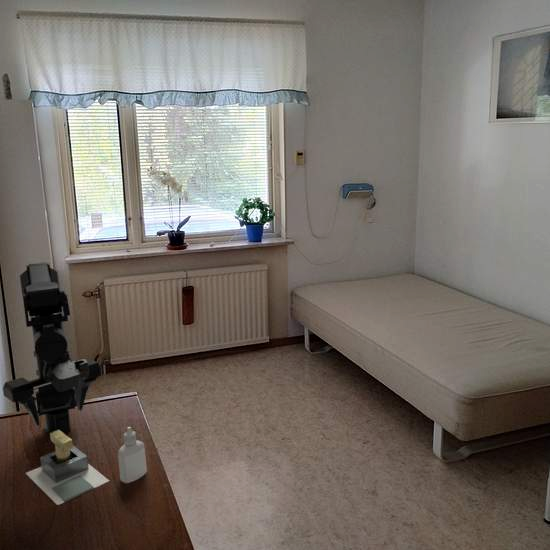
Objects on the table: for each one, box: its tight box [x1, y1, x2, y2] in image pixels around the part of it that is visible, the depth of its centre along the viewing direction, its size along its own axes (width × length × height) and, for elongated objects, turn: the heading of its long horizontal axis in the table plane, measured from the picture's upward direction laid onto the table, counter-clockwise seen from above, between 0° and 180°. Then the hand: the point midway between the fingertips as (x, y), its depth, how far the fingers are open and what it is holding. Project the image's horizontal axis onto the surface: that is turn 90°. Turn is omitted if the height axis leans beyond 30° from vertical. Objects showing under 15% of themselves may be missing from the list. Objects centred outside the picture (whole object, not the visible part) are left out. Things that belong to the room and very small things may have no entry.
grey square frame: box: [39, 444, 89, 483], centre depth 120 cm, size 7×7×3 cm
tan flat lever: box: [49, 430, 74, 465], centre depth 119 cm, size 6×3×8 cm, turn 45°
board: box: [25, 463, 110, 506], centre depth 118 cm, size 16×11×1 cm
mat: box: [52, 476, 95, 502], centre depth 113 cm, size 6×6×1 cm
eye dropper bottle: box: [117, 426, 148, 484], centre depth 116 cm, size 4×6×12 cm
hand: (59, 417), depth 117 cm, fingers open, 9 cm apart
